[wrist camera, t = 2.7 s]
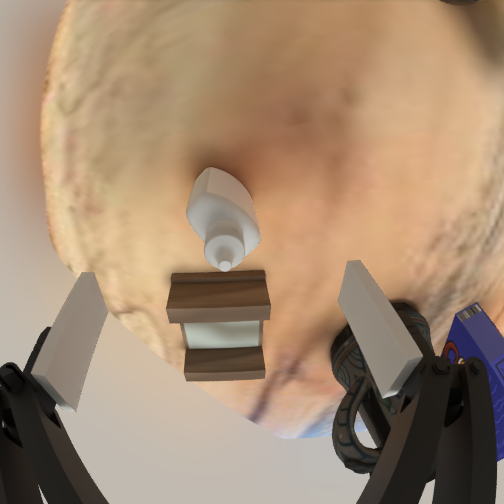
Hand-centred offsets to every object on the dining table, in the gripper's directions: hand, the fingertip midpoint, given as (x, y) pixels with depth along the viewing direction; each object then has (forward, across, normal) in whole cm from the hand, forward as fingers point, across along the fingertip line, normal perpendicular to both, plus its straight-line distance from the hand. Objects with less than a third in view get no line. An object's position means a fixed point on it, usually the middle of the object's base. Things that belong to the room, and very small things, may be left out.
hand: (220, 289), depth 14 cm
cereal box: (+14, +46, -31) cm, 57 cm away
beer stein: (+14, +21, -24) cm, 35 cm away
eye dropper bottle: (+14, 0, 0) cm, 14 cm away
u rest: (+14, -1, -16) cm, 21 cm away
